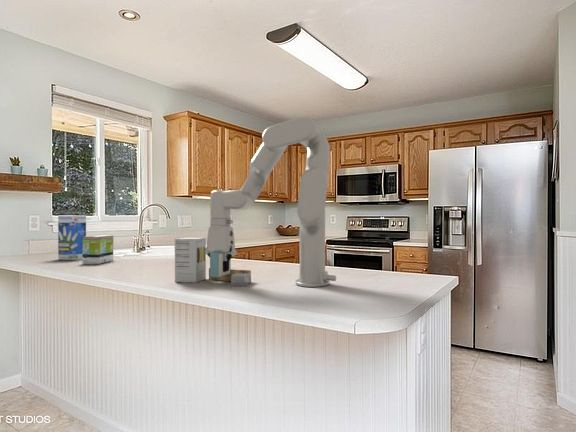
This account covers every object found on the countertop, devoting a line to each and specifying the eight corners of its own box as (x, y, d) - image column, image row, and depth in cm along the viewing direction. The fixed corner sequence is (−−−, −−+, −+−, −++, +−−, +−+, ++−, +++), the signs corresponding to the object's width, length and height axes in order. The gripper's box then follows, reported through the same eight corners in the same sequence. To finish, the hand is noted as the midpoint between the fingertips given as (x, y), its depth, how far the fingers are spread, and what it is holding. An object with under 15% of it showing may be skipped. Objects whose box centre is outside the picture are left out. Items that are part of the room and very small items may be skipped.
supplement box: (196, 283, 146) (196, 238, 145) (174, 282, 147) (173, 238, 147) (206, 278, 155) (206, 237, 155) (185, 278, 157) (185, 237, 157)
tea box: (100, 264, 202) (100, 236, 202) (81, 264, 202) (81, 236, 202) (114, 260, 217) (113, 234, 217) (96, 260, 217) (96, 234, 217)
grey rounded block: (249, 283, 146) (249, 272, 146) (244, 287, 138) (244, 276, 138) (237, 282, 146) (237, 272, 146) (231, 287, 138) (231, 276, 138)
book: (230, 274, 149) (230, 251, 148) (219, 277, 141) (219, 253, 141) (221, 273, 150) (221, 250, 150) (209, 276, 143) (209, 252, 143)
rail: (250, 281, 147) (250, 270, 147) (249, 282, 146) (249, 270, 146) (210, 278, 154) (210, 267, 154) (208, 279, 153) (208, 268, 153)
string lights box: (57, 259, 222) (57, 215, 222) (67, 258, 230) (66, 215, 230) (78, 260, 220) (77, 215, 220) (87, 258, 228) (86, 215, 228)
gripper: (244, 223, 146) (244, 270, 146) (207, 222, 152) (207, 268, 152) (234, 223, 139) (234, 273, 139) (196, 223, 145) (196, 271, 146)
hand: (220, 270), depth 146 cm, fingers closed on book, 4 cm apart
